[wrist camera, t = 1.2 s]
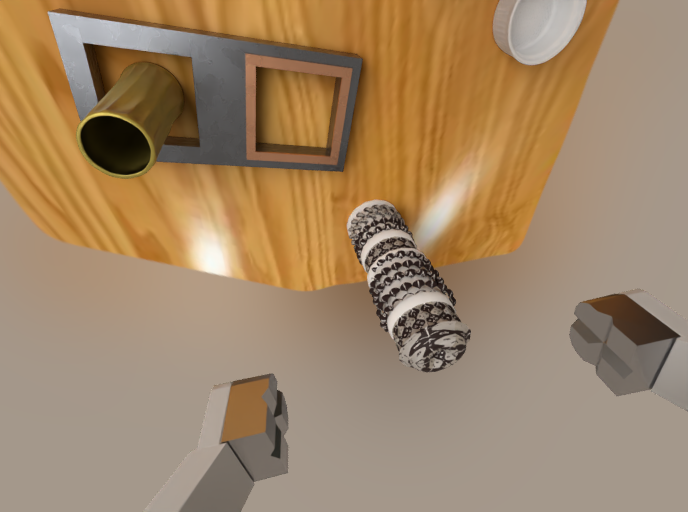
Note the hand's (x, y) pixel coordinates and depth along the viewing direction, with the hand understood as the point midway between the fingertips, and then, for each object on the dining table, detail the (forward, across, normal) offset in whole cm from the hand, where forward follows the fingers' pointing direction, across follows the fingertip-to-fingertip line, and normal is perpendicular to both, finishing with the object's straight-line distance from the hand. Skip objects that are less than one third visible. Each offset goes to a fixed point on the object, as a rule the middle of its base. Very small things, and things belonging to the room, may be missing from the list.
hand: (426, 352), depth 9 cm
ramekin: (+40, -25, -5) cm, 47 cm away
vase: (+37, +17, -6) cm, 41 cm away
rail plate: (+37, +10, -3) cm, 39 cm away
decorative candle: (+42, -5, +18) cm, 46 cm away
